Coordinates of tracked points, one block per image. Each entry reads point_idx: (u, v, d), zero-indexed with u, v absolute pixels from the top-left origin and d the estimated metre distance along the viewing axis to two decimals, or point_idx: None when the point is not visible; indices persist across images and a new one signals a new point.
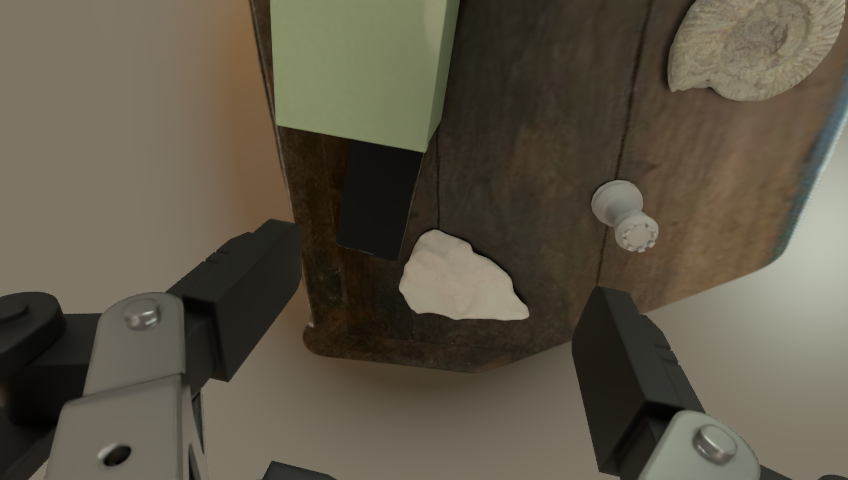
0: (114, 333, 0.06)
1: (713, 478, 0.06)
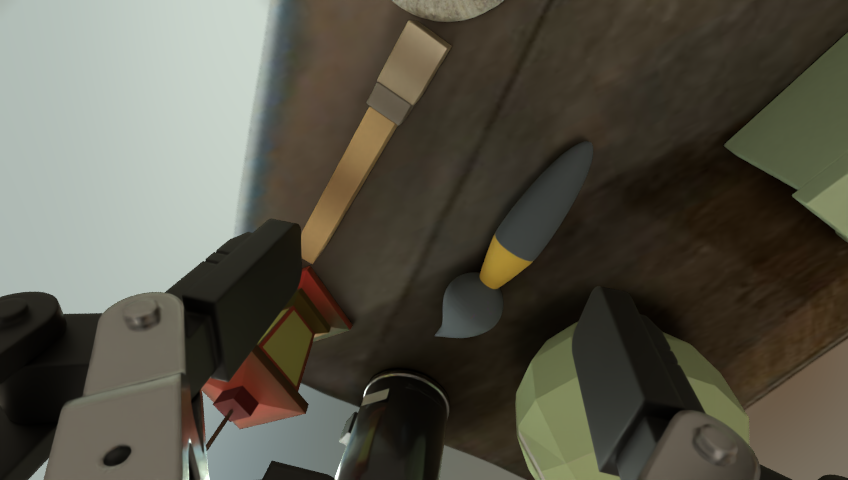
0: (114, 333, 0.06)
1: (713, 478, 0.06)
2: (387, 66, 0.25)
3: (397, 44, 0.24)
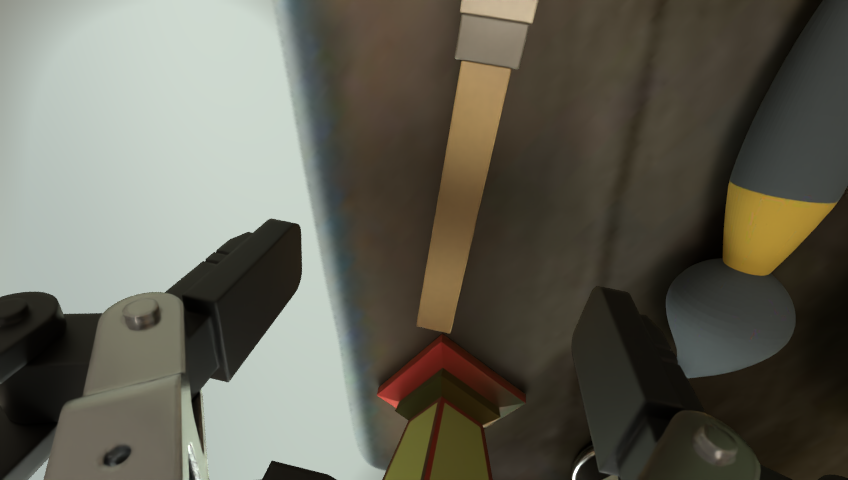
0: (114, 333, 0.06)
1: (713, 478, 0.06)
2: None
3: None
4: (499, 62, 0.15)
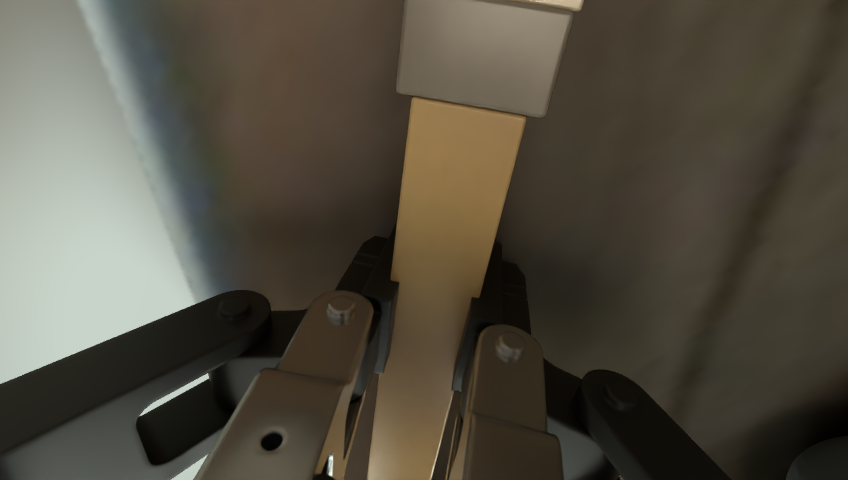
0: (317, 319, 0.07)
1: (516, 374, 0.07)
2: None
3: None
4: (499, 103, 0.07)
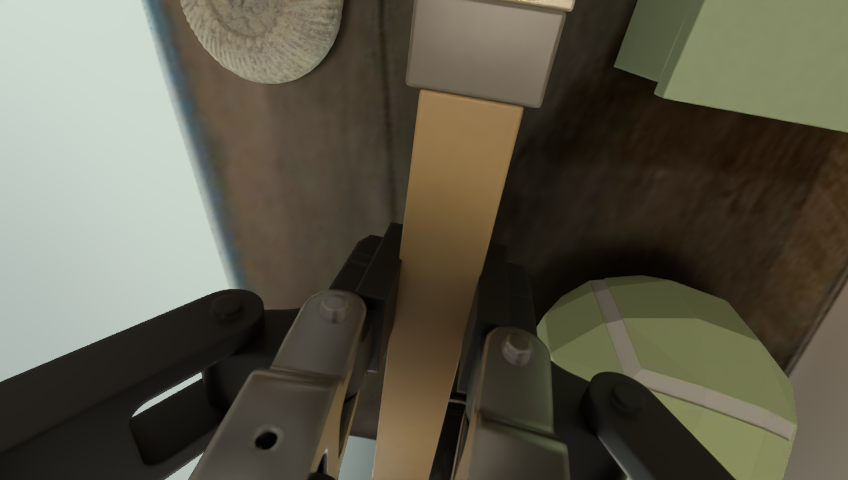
0: (310, 318, 0.07)
1: (523, 376, 0.07)
2: None
3: None
4: (498, 94, 0.07)
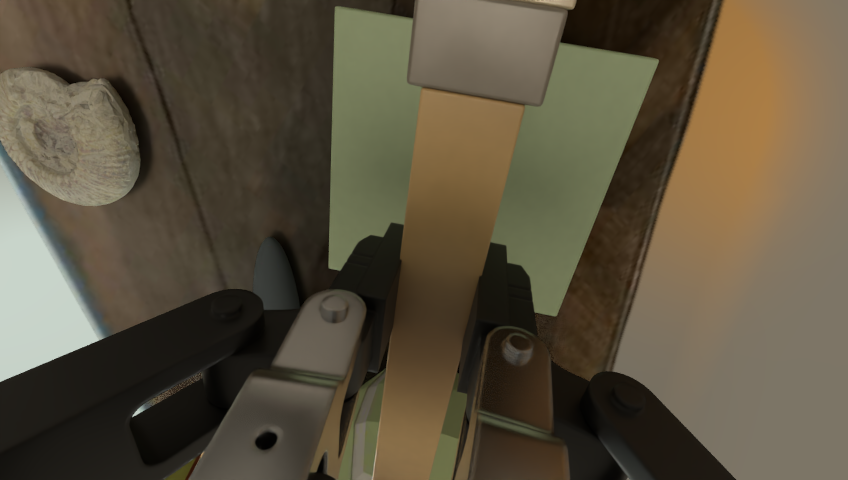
0: (309, 318, 0.07)
1: (523, 376, 0.07)
2: None
3: None
4: (500, 92, 0.07)
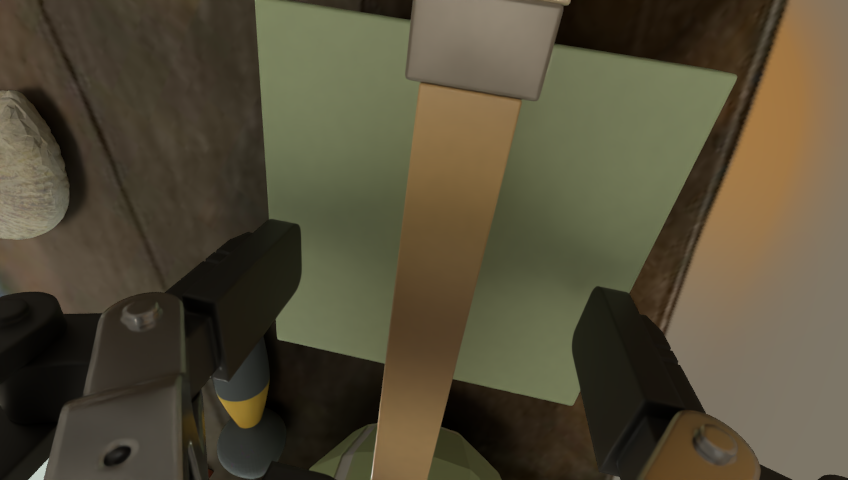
0: (114, 333, 0.06)
1: (713, 478, 0.06)
2: None
3: None
4: (497, 87, 0.07)
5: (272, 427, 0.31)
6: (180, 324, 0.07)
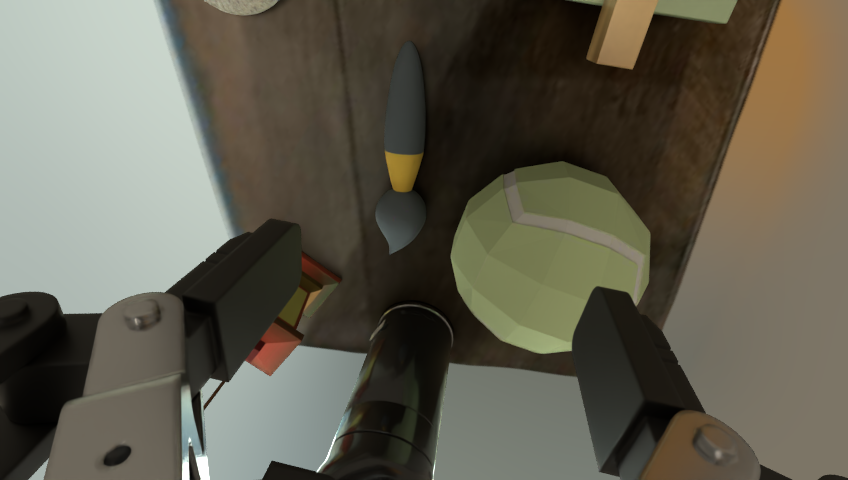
0: (114, 333, 0.06)
1: (713, 478, 0.06)
2: None
3: None
4: None
5: (420, 197, 0.38)
6: (180, 324, 0.07)
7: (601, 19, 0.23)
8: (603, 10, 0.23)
